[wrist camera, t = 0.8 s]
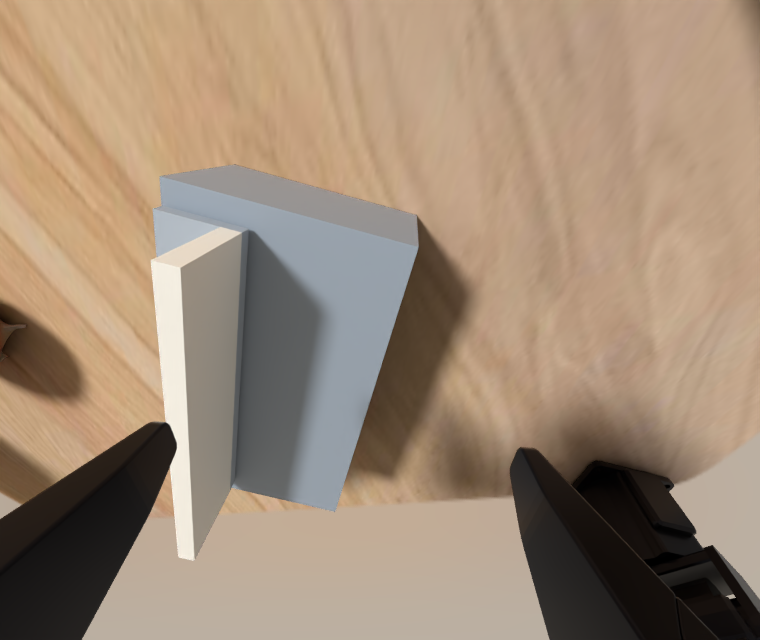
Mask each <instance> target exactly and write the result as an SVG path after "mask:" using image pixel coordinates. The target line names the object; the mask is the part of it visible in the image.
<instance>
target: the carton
mask: <svg viewBox="0 0 760 640" xmlns="http://www.w3.org/2000/svg"><path fill="white" fill-rule="evenodd" d="M160 190H161V204H162V206H166V207H170V208H174V209H177V210H181V211H185V212H188V213H192V214H196V215H200V216H203V217H207V218H211V219H215V220H218V221H222V222H226V223H229V224H233V225H237V226H241V227H244V228H248V229H249V236H248V253H247V271H246V289H245V307H244V325H243V342H242V360H241V378H240V396H239V413H238V431H237V449H236V467H235V482H234V484H233V486H232V488H235V489H239V490H244V491H248V492H252V493H256V494H261V495H265V496H269V497H274V498H278V499H282V500H287V501H291V502H295V503H299V504H304V505H308V506H312V507H317V508H321V509H325V510H330V511H334V512H335V510H336V507H337V504H338V501H339V498H340V495H341V491H342V488H343V485H344V482H345V479H346V476H347V473H348V469H349V466H350V463H351V460H352V457H353V454H354V450H355V447H356V444H357V441H358V438H359V435H360V431H361V428H362V425H363V422H364V419H365V416H366V412H367V409H368V406H369V403H370V400H371V397H372V393H373V390H374V387H375V384H376V381H377V378H378V374H379V371H380V368H381V365H382V362H383V359H384V355H385V352H386V349H387V346H388V343H389V340H390V336H391V333H392V330H393V327H394V324H395V321H396V317H397V314H398V311H399V308H400V305H401V302H402V298H403V295H404V292H405V289H406V286H407V283H408V279H409V276H410V273H411V270H412V267H413V264H414V260H415V257H416V254H417V251H418V248H419V243H418V228H417V215H414V214H410V213H407V212H403V211H400V210H396V209H392V208H389V207H385V206H382V205H378V204H374V203H371V202H367V201H364V200H360V199H357V198H353V197H349V196H346V195H342V194H339V193H335V192H331V191H328V190H324V189H321V188H317V187H313V186H310V185H306V184H303V183H299V182H295V181H292V180H288V179H285V178H281V177H277V176H274V175H270V174H267V173H263V172H259V171H256V170H252V169H249V168H245V167H241V166H238V165H228V166H222V167H215V168H209V169H203V170H196V171H190V172H183V173H177V174H171V175H164V176H160Z"/></svg>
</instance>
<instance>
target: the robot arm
mask: <svg viewBox="0 0 760 640" xmlns="http://www.w3.org/2000/svg"><path fill="white" fill-rule="evenodd" d="M176 450H177V442H176V439H175V437H174V434H173V431H172V429H171V426H170V425H169V424H168V423H166V422H150V423H148V424H146V425H145V426H143V427H141V428H140V429H138V430H137V431H135V432H134V433H132V434H131V435H129V436H128V437H126V438H125V439H123V440H121V441H120V442H118V443H117V444H115V445H114V446H112V447H111V448H109V449H108V450H106V451H104V452H103V453H101V454H100V455H98V456H97V457H95V458H94V459H92V460H91V461H89V462H87V463H86V464H84V465H83V466H81V467H80V468H78V469H77V470H75V471H74V472H72V473H71V474H69V475H67V476H66V477H64V478H63V479H61V480H60V481H58V482H57V483H55V484H54V485H52V486H50V487H49V488H47V489H46V490H44V491H43V492H41V493H40V494H38V495H37V496H35V497H33V498H32V499H30V500H29V501H27V502H26V503H24V504H23V505H21V506H20V507H18V508H17V509H15V510H13V511H12V512H10V513H9V514H8V515H6V516H4V517H3V518H1V519H0V640H82V638H83V636H84V634H85V633H86V631H87V629H88V627H89V625H90V623H91V622H92V620H93V618H94V616H95V614H96V612H97V610H98V609H99V607H100V605H101V603H102V601H103V599H104V597H105V596H106V594H107V592H108V590H109V588H110V586H111V584H112V582H113V581H114V579H115V577H116V575H117V573H118V572H119V569H120V568H121V566H122V564H123V562H124V560H125V559H126V557H127V555H128V553H129V551H130V549H131V548H132V546H133V544H134V542H135V540H136V538H137V536H138V534H139V533H140V531H141V529H142V527H143V525H144V523H145V522H146V520H147V518H148V516H149V514H150V512H151V510H152V507H153V505H154V503H155V501H156V498H157V496H158V494H159V491H160V489H161V487H162V484H163V482H164V479H165V477H166V475H167V472H168V470H169V468H170V465H171V463H172V461H173V458H174V456H175V453H176ZM510 479H511V484H512V490H513V496H514V501H515V507H516V513H517V518H518V523H519V529H520V534H521V539H522V543H523V547H524V551H525V554H526V558H527V561H528V565H529V568H530V572H531V575H532V579H533V583H534V586H535V590H536V593H537V597H538V600H539V604H540V607H541V611H542V614H543V618H544V622H545V625H546V629H547V632H548V636H549V639H550V640H760V599H759V598H758V597H757V595H756V594H755V593H754V592H753V590H752V589H751V588H750V586H749V585H748V584H747V583H746V581H745V580H744V579H743V577H742V576H741V575H740V574H739V573H738V572H737V571H736V570H735V569H734V568H733V567H732V566H731V565H730V563H729V562H728V561H727V560H726V559H725V558H724V557H723V556H722V555H721V554H720V553H719V552H718V551H717V549H716V548H715V547H714V546H713V545H711V546H708V547H705V548H702V546H701V545H700V544H699V542H698V541H697V539H696V538H695V537H694V535H695V534H696V530H695V528H694V526H693V525H692V523H691V522H690V520H689V519H688V518H687V516H686V515H685V513H684V512H683V511H682V509H681V508H680V507H679V505H678V504H677V503H676V501H675V500H674V498H673V497H672V496H671V494H670V493H669V491H670V490H671V489H672V488H673V487H674V484H673V483H672V482H671V480H670V479H669V478H665V477H661V476H657V475H653V474H649V473H645V472H641V471H637V470H633V469H629V468H625V467H621V466H617V465H613V464H609V463H605V462H601V461H595V462H592V463H591V464H590V465H589V466H588V468H587V469H586V470H585V471H584V472H583V473H582V475H581V476H580V477H579V478H578V479H577V480H576V482H575V483H574V484H573V485H572V486H571V485H570V483H569V482H568V481H567V480H566V479H565V478H564V477H563V476H562V475H561V474H560V473H559V472H558V471H557V470H556V469H555V468H554V467H553V466H552V465H551V464H550V463H549V461H548V460H547V459H546V458H545V457H544V456H543V455H542V454H541V453H540V452H539V451H538V450H536V449H535V448H526V447H520V448H519V449H518V450H517V452H516V454H515V457H514V459H513V461H512V464H511V466H510ZM731 594H734V595H735V597H736V598H733V599H729V598H728V597H726V596H727V595H731Z"/></svg>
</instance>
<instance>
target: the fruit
mask: <svg viewBox="0 0 760 640" xmlns="http://www.w3.org/2000/svg"><path fill="white" fill-rule="evenodd" d="M25 326H26V324H23V325H9V324H6V323H4V322H2V321H1V320H0V362H1V361H2V360H3V359H5V358H6V357H9V356H7V355H5V354H3V353H2V352H1V350H2V348H3V346H4V344H5V342H6V340H7V339H8V337H9V336H10V335H11V333H12V332H13V331H14V330H15V329H19V328H26V327H25Z"/></svg>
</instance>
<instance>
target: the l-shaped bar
mask: <svg viewBox="0 0 760 640" xmlns="http://www.w3.org/2000/svg"><path fill="white" fill-rule="evenodd" d="M153 218H154V230H155V242H156V254H157V257H156V258H154V259H152V260H151V268H152V278H153V289H154V300H155V311H156V321H157V332H158V343H159V354H160V364H161V375H162V386H163V397H164V407H165V418H166V423H168V424H169V425H170V426H171V429H172V431H173V434H174V437H175V439H176V442H177V450H176V453H175V456H174V458H173V461H172V463H171V465H170V472H171V483H172V493H173V504H174V515H175V526H176V536H177V547H178V557H180V558H184V559H188V560H193V561H194V560H195V559H196V556H197V555H198V553H199V551H200V549H201V547H202V545H203V543H204V541H205V539H206V537H207V535H208V533H209V531H210V529H211V527H212V525H213V523H214V521H215V519H216V517H217V515H218V513H219V511H220V509H221V507H222V506H223V504H224V502H225V500H226V498H227V496H228V494H229V492H230V490H231V488H232V486H233V484H234V482H235V467H236V449H237V431H238V413H239V396H240V378H241V360H242V342H243V325H244V307H245V289H246V271H247V253H248V236H249V229H248V228H244V227H241V226H237V225H233V224H229V223H226V222H222V221H218V220H215V219H211V218H207V217H203V216H200V215H196V214H192V213H188V212H185V211H181V210H177V209H174V208H170V207H166V206H161V207H157V208H154V209H153Z"/></svg>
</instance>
